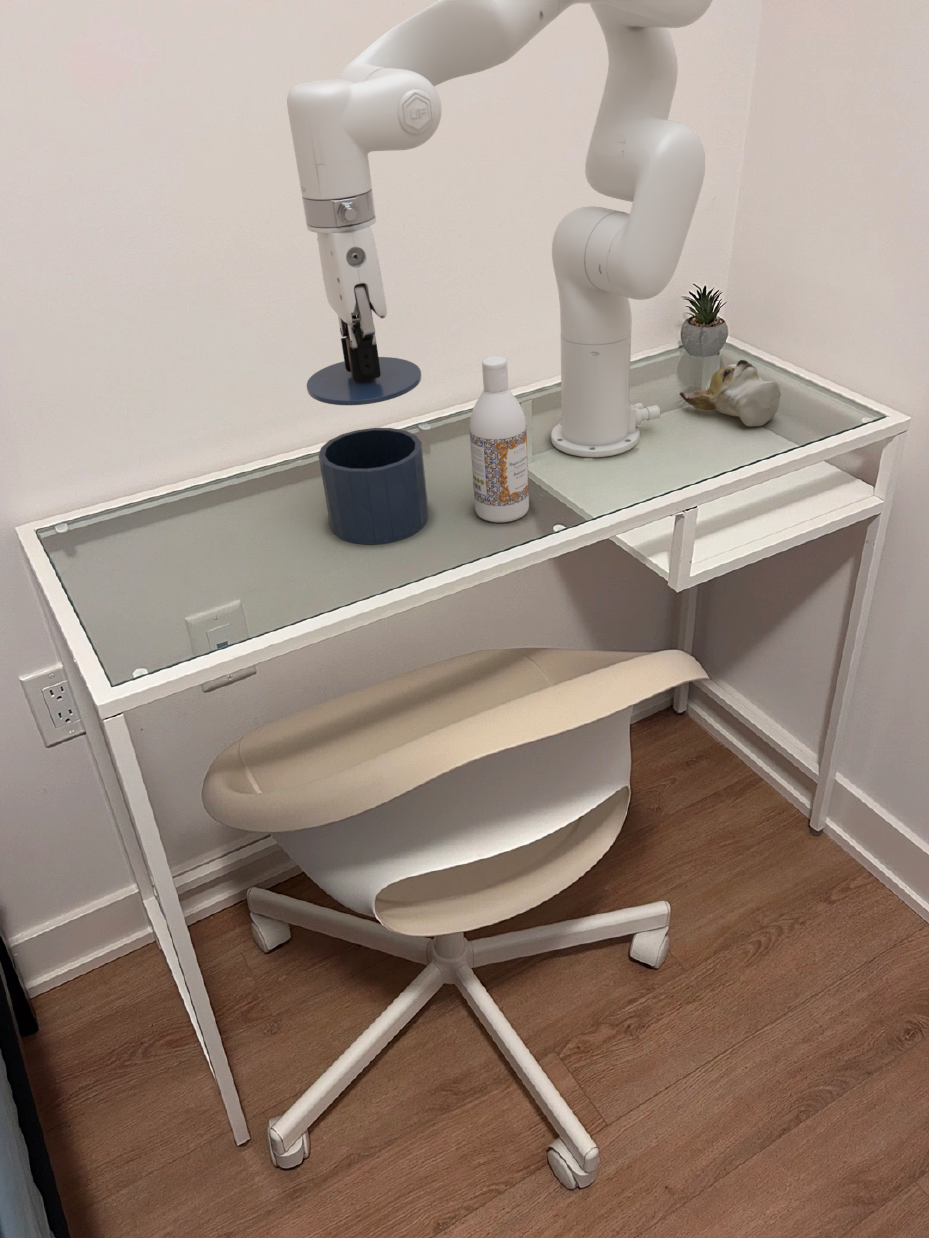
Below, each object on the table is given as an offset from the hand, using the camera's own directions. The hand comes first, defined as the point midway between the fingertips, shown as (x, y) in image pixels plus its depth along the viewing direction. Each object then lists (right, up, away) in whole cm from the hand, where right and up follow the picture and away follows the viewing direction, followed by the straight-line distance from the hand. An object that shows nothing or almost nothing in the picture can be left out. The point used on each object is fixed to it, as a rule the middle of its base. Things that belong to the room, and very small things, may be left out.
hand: (363, 372), depth 118 cm
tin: (+1, -16, +11) cm, 20 cm away
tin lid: (0, -1, +1) cm, 1 cm away
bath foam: (+17, -15, +11) cm, 25 cm away
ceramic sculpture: (+52, +1, +31) cm, 60 cm away
